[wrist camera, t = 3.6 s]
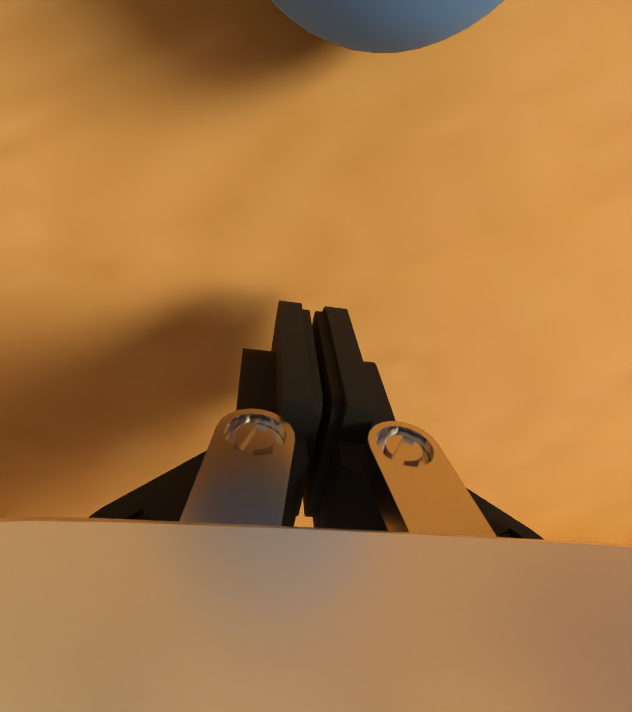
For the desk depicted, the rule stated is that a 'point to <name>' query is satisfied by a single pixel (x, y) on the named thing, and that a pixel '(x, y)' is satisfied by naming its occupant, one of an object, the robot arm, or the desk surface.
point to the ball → (385, 21)
